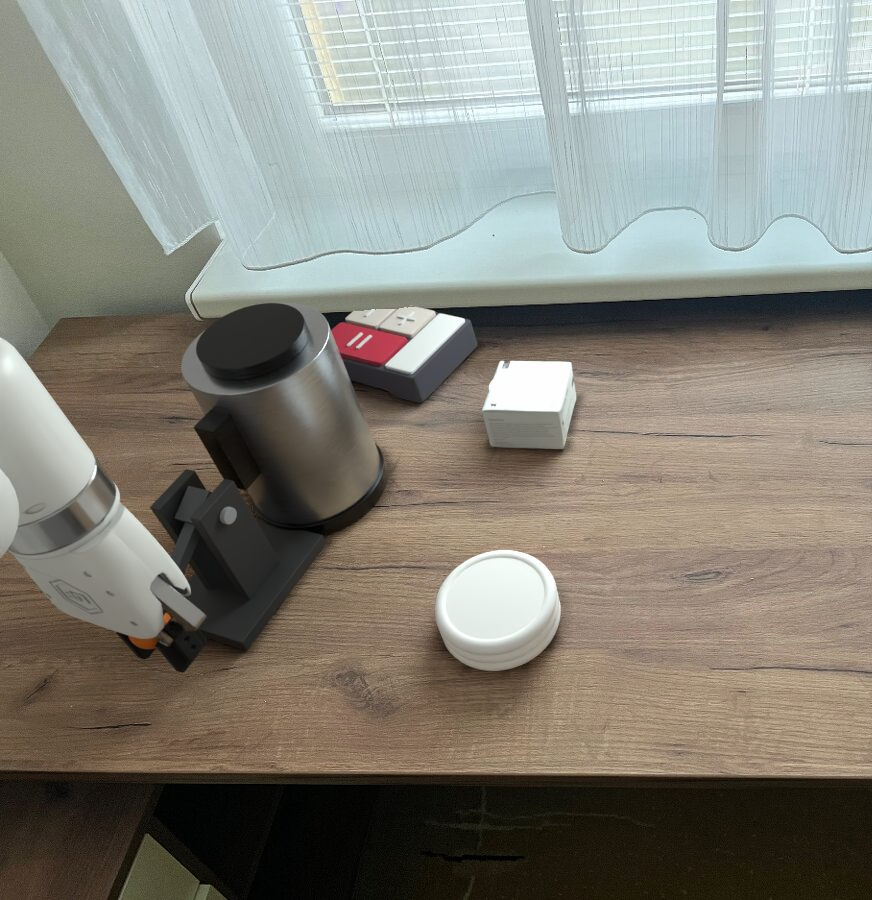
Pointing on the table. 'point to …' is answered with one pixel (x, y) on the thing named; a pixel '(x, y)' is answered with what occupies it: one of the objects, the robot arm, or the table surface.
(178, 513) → the switch lever
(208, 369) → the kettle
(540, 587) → the white jar lid
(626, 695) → the table surface
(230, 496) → the switch base
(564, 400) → the small box
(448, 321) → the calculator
